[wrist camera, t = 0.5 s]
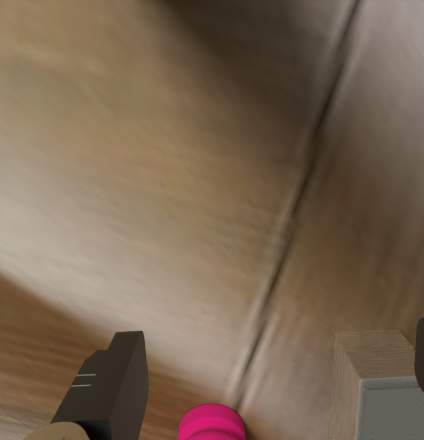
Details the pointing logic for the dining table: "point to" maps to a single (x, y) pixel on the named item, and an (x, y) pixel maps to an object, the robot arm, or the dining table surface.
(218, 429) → the pepper mill
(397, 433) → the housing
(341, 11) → the dining table surface
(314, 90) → the dining table surface
